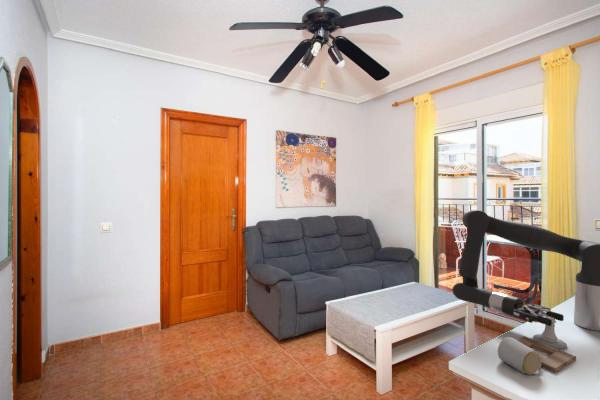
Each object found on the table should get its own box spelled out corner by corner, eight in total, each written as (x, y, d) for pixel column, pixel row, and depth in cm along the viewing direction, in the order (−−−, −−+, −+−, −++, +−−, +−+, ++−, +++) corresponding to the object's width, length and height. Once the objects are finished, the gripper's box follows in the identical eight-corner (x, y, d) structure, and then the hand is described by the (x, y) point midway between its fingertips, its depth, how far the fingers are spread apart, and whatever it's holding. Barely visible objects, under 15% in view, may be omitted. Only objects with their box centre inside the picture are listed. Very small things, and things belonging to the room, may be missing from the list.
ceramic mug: (524, 378, 82) (525, 351, 82) (496, 362, 90) (497, 337, 90) (549, 372, 86) (551, 346, 86) (520, 357, 93) (521, 333, 93)
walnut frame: (524, 340, 104) (524, 336, 104) (575, 360, 92) (576, 356, 92) (502, 349, 98) (502, 345, 98) (555, 372, 85) (555, 368, 85)
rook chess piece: (538, 338, 104) (539, 315, 104) (545, 336, 106) (546, 314, 106) (552, 344, 100) (554, 321, 100) (560, 342, 102) (561, 319, 101)
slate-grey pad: (540, 334, 109) (540, 332, 109) (571, 345, 101) (571, 343, 101) (528, 339, 105) (528, 337, 105) (559, 352, 97) (560, 349, 97)
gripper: (496, 297, 112) (548, 313, 97) (515, 292, 118) (567, 306, 104) (495, 317, 112) (547, 335, 98) (515, 310, 119) (566, 327, 104)
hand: (557, 320), depth 101 cm, fingers open, 8 cm apart
